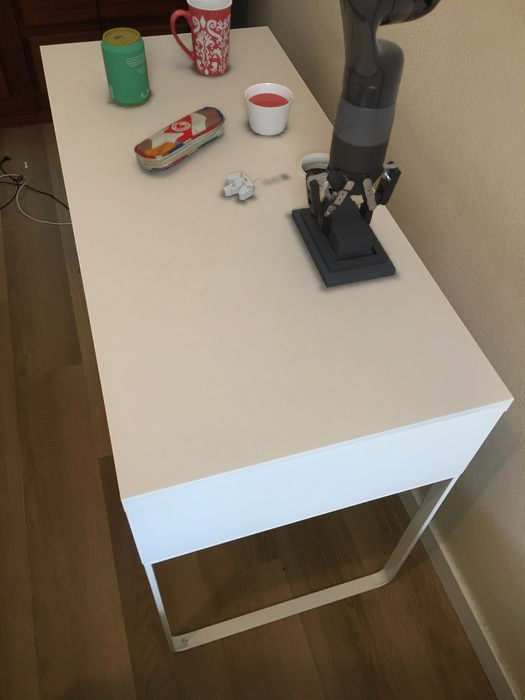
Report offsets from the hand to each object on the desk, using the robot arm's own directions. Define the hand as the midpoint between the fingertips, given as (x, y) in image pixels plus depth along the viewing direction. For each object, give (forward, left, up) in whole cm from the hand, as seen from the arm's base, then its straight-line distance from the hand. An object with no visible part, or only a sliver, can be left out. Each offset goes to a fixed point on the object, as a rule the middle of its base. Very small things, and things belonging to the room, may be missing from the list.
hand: (343, 228), depth 88 cm
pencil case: (+33, -15, -3) cm, 37 cm away
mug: (+41, -45, -3) cm, 61 cm away
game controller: (+17, -9, -3) cm, 20 cm away
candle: (+21, -28, -3) cm, 35 cm away
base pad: (0, 0, -3) cm, 3 cm away
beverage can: (+50, -28, -3) cm, 58 cm away
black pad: (0, 0, 0) cm, 0 cm away
